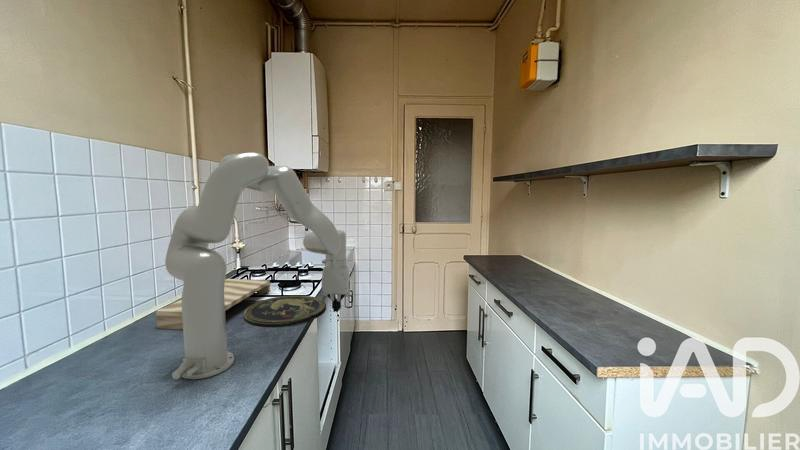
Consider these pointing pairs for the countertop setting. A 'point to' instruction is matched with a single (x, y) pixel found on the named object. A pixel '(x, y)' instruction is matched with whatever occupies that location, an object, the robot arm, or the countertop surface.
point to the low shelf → (232, 295)
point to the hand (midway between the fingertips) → (336, 310)
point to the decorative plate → (284, 311)
